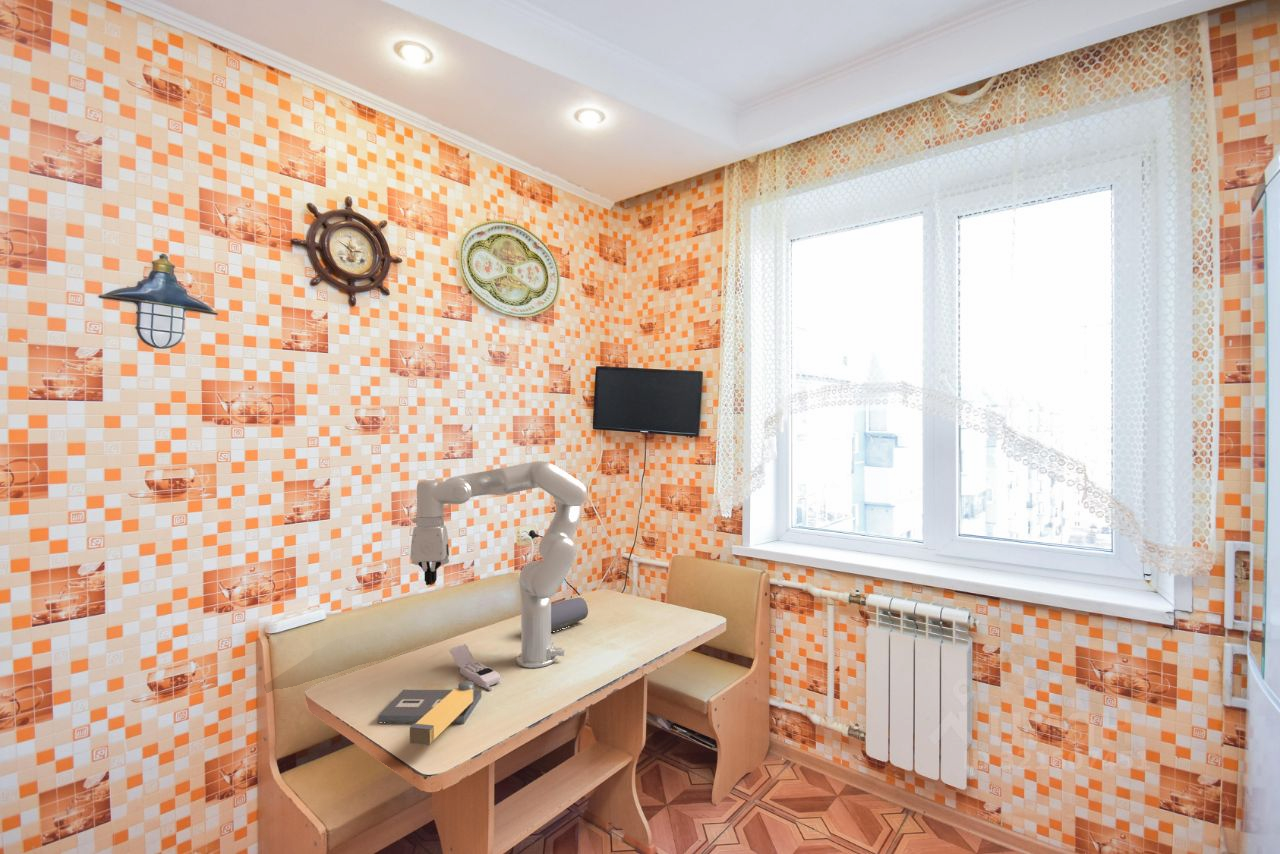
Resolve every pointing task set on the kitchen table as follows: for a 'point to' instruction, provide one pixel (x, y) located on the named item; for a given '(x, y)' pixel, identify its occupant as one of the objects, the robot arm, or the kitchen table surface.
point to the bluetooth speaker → (567, 613)
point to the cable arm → (442, 714)
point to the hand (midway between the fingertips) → (430, 583)
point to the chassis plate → (420, 706)
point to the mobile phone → (474, 668)
